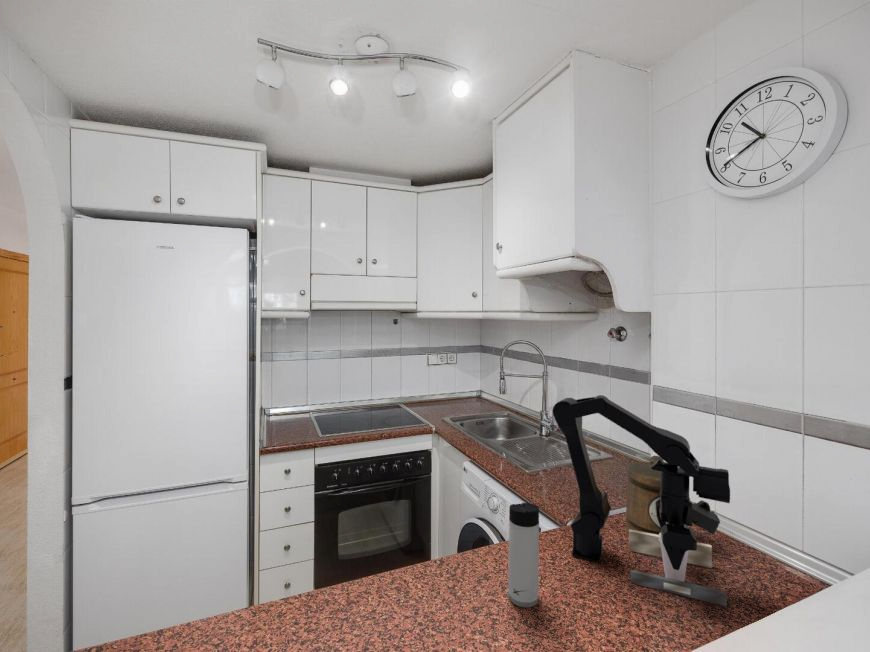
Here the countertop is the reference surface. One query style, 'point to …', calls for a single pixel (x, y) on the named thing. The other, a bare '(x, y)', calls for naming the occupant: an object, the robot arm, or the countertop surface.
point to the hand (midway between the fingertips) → (673, 559)
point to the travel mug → (523, 554)
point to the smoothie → (668, 567)
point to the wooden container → (643, 497)
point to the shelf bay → (700, 557)
